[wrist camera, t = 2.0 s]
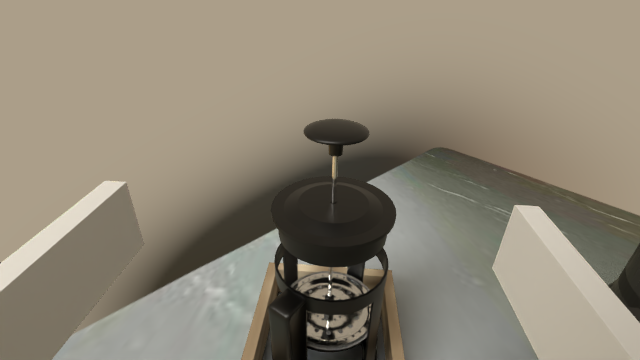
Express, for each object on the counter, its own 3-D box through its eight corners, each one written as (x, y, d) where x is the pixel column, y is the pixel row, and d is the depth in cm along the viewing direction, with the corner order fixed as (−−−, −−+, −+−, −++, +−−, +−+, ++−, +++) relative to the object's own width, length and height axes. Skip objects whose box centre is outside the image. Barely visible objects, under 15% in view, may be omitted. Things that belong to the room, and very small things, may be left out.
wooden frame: (387, 292, 40) (391, 270, 38) (409, 468, 25) (417, 444, 24) (271, 284, 41) (269, 262, 39) (227, 450, 26) (221, 426, 24)
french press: (320, 294, 39) (325, 94, 28) (396, 337, 35) (438, 118, 23) (244, 375, 31) (206, 138, 20) (329, 447, 26) (345, 190, 15)
